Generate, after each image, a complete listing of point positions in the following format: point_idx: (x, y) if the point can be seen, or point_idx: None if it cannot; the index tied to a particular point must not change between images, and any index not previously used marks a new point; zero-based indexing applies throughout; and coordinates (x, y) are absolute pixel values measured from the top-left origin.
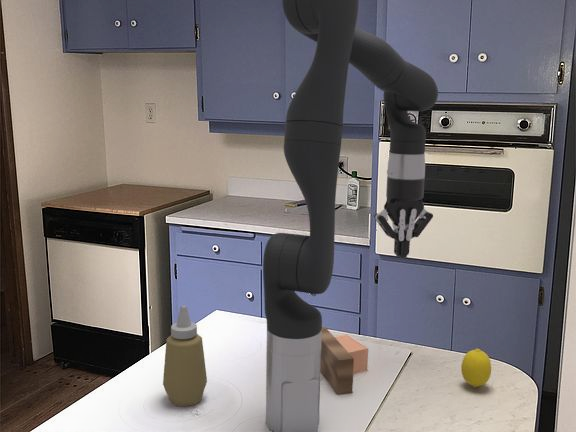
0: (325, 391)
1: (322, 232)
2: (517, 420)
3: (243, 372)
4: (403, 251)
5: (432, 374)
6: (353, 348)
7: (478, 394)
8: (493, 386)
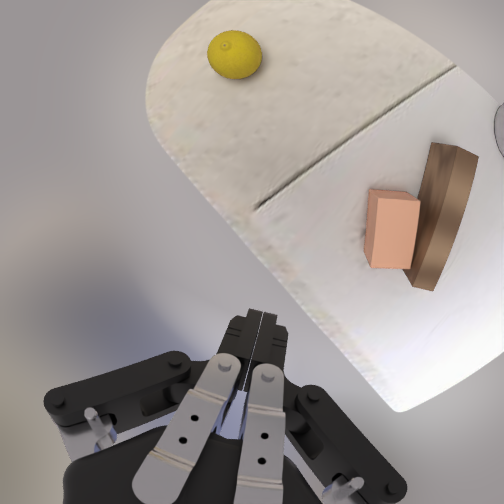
0: None
1: None
2: None
3: (494, 270)
4: (262, 327)
5: (277, 124)
6: (401, 211)
7: None
8: None
